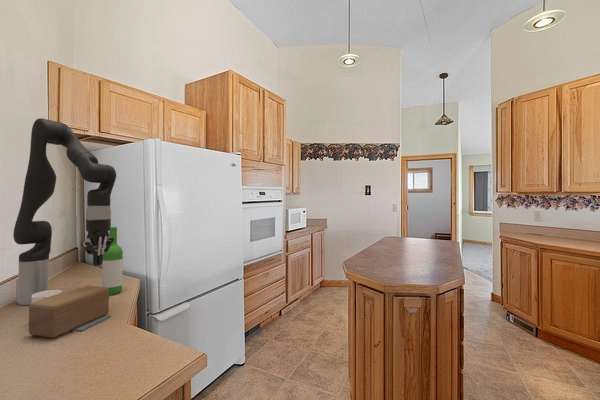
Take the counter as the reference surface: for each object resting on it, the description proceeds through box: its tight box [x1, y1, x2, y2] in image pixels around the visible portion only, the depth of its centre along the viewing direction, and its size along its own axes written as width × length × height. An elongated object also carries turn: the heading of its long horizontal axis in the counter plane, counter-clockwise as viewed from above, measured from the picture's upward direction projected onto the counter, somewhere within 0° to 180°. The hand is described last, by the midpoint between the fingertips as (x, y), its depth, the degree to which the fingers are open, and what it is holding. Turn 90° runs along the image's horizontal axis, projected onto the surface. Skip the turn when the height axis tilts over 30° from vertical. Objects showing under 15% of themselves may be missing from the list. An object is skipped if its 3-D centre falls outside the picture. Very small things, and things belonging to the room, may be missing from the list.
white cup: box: [31, 289, 63, 303], centre depth 100 cm, size 8×8×10 cm
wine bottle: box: [101, 226, 124, 296], centre depth 131 cm, size 8×8×30 cm
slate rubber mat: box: [68, 314, 112, 333], centre depth 99 cm, size 12×12×1 cm
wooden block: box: [28, 285, 110, 338], centre depth 97 cm, size 10×10×20 cm
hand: (97, 265), depth 106 cm, fingers closed
